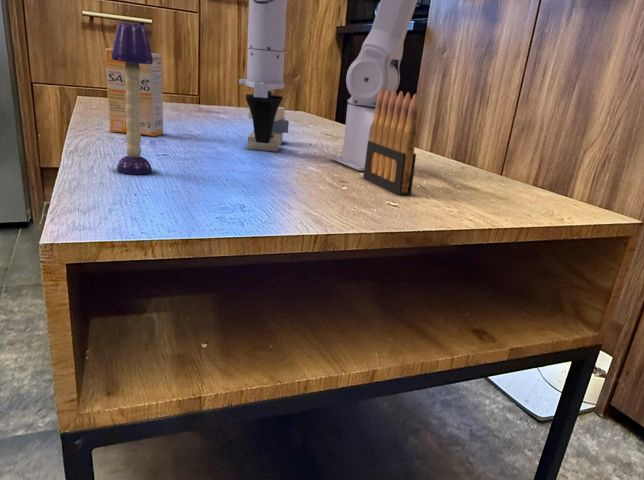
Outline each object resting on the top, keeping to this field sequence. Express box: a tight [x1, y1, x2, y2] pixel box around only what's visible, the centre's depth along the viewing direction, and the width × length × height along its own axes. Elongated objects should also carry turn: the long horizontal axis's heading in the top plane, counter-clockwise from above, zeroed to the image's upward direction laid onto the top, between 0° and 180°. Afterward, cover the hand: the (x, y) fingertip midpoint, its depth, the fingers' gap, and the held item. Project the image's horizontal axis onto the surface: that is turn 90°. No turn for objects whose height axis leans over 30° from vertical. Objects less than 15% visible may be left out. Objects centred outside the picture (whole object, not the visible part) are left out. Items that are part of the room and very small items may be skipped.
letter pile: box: [248, 106, 290, 146], centre depth 108 cm, size 7×7×6 cm
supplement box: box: [104, 47, 164, 137], centre depth 102 cm, size 8×5×13 cm, turn 80°
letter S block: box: [247, 132, 280, 153], centre depth 101 cm, size 5×5×2 cm
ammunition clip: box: [362, 87, 419, 196], centre depth 78 cm, size 11×2×12 cm, turn 22°
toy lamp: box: [111, 21, 153, 175], centre depth 72 cm, size 5×5×17 cm
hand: (262, 142), depth 98 cm, fingers closed
